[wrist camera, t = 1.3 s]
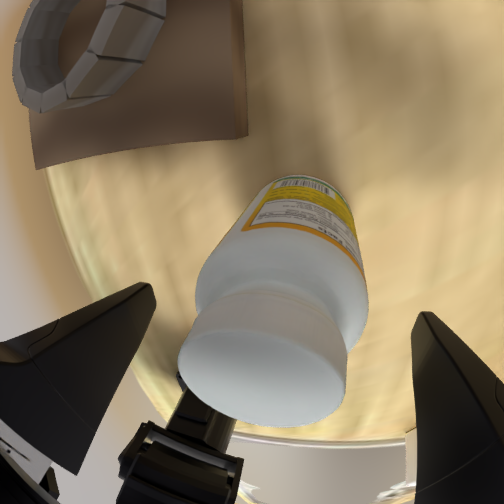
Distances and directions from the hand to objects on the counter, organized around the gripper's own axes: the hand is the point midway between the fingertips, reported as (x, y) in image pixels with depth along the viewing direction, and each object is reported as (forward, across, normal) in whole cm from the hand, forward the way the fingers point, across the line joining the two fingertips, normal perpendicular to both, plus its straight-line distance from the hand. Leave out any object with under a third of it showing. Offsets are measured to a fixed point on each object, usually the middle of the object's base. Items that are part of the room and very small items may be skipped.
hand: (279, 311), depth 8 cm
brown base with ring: (+6, +10, -12) cm, 17 cm away
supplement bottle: (+7, 0, 0) cm, 7 cm away
